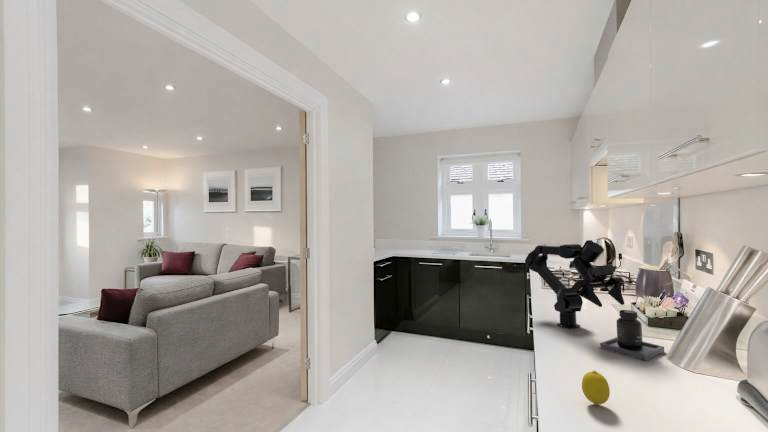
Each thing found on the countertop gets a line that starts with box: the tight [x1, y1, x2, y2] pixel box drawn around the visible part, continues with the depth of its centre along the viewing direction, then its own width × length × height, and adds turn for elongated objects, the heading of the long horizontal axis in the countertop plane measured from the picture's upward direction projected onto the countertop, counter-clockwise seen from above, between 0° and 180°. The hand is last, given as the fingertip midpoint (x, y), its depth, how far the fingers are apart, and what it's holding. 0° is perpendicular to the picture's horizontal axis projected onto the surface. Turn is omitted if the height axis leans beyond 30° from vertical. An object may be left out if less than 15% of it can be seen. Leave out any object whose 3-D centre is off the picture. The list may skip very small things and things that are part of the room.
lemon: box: [581, 370, 611, 406], centre depth 78 cm, size 6×6×8 cm
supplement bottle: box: [615, 309, 644, 351], centre depth 110 cm, size 7×7×12 cm
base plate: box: [599, 336, 665, 362], centre depth 110 cm, size 13×13×2 cm
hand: (612, 305), depth 117 cm, fingers open, 9 cm apart
